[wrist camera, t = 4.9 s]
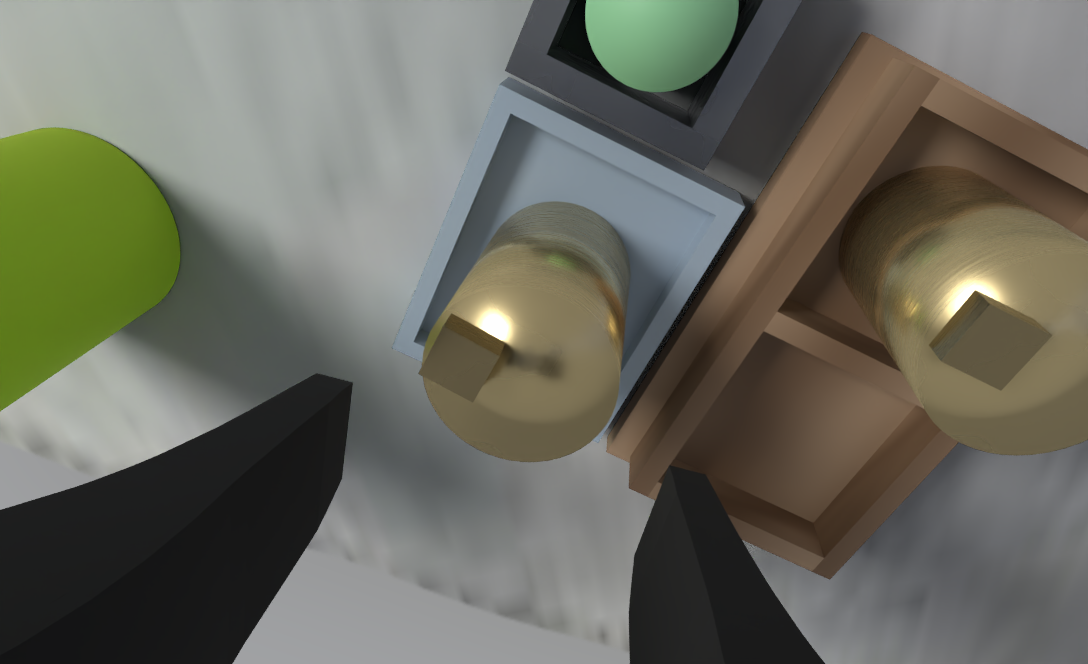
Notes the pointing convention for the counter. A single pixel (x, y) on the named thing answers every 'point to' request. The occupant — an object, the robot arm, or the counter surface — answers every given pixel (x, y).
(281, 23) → the counter surface
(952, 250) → the cylinder
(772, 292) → the wooden tray
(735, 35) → the button housing
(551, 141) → the light blue shallow tray
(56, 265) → the soap dispenser
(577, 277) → the cylinder
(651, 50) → the button
